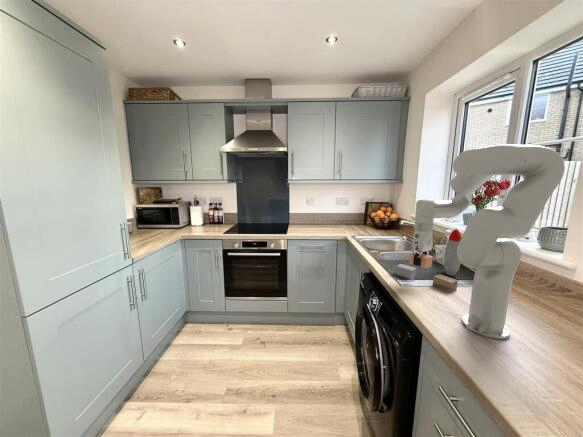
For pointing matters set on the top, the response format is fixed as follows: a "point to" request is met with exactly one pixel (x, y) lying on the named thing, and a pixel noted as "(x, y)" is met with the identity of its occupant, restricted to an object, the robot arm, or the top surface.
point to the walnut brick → (445, 283)
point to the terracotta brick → (422, 260)
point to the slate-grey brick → (406, 271)
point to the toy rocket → (452, 253)
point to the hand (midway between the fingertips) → (420, 263)
